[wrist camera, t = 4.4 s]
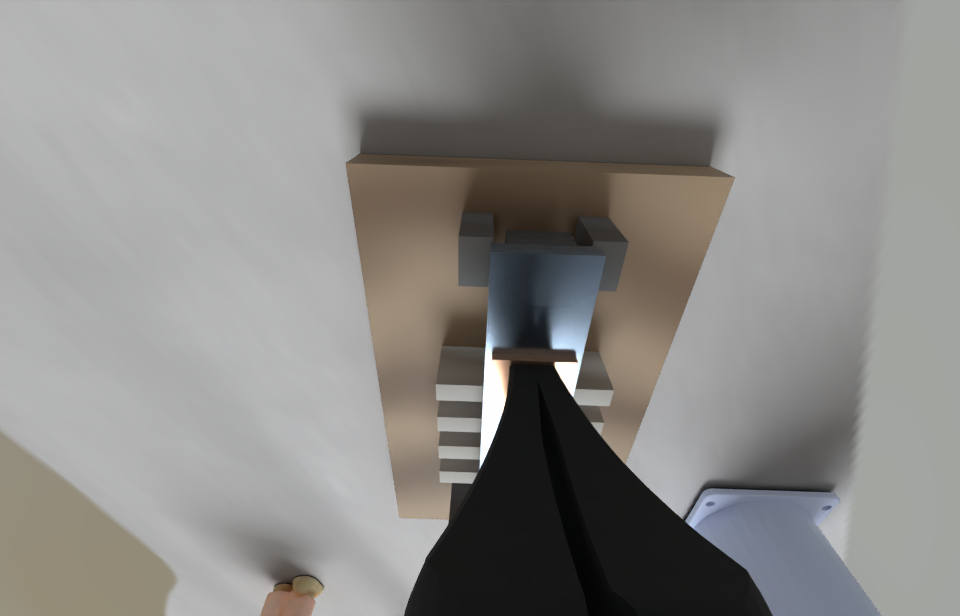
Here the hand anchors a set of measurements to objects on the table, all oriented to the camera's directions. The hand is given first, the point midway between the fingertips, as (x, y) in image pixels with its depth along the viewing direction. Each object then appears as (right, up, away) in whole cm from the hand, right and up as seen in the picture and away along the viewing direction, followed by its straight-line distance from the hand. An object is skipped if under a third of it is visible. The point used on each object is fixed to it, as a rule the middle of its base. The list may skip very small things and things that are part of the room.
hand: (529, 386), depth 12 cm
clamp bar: (0, -1, +4) cm, 4 cm away
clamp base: (0, -1, +6) cm, 6 cm away
